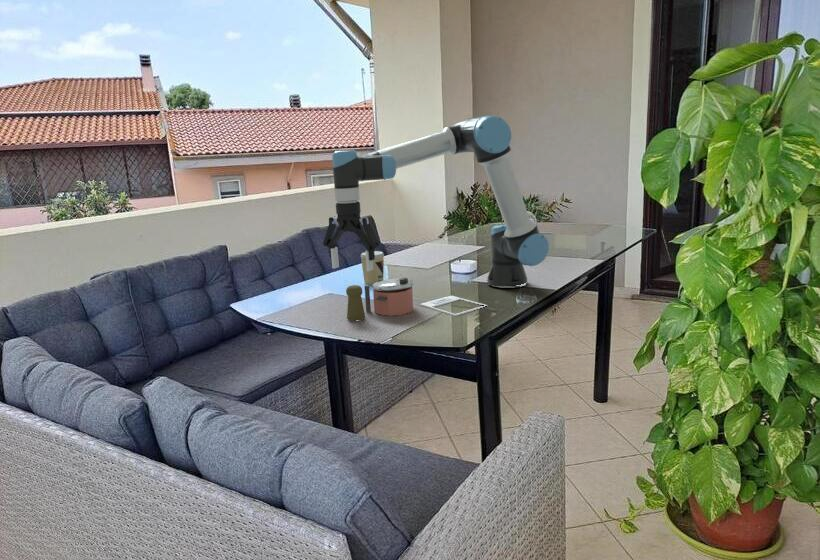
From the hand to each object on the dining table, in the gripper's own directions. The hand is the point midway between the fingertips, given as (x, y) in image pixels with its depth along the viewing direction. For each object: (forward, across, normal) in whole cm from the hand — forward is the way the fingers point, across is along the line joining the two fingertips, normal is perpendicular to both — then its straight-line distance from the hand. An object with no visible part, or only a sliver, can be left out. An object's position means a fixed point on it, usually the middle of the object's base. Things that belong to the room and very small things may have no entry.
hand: (352, 269), depth 182 cm
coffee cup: (+17, +20, -44) cm, 51 cm away
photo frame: (+17, -24, -23) cm, 38 cm away
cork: (+17, 0, 0) cm, 17 cm away
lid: (+8, -7, -12) cm, 17 cm away
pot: (+17, -7, -12) cm, 22 cm away
